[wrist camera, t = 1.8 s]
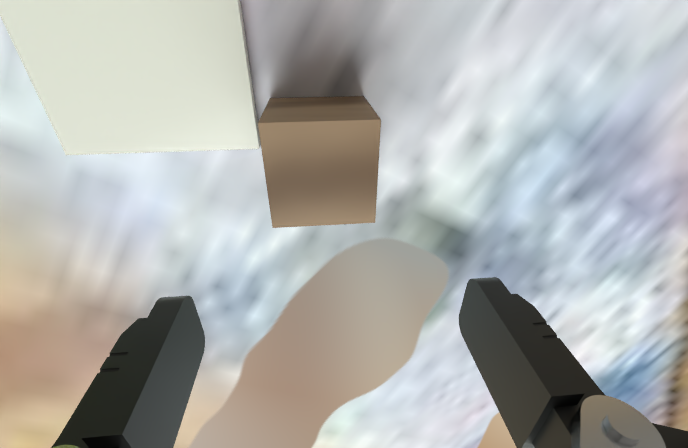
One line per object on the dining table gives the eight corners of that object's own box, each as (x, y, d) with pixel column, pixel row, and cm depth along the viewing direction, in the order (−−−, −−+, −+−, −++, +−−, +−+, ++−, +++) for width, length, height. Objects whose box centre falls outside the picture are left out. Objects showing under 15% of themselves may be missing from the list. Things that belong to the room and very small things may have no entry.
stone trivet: (-42, -103, 15) (-59, -109, 14) (226, -97, 16) (222, -102, 15) (73, 150, 21) (66, 155, 21) (260, 145, 22) (259, 148, 22)
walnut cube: (270, 97, 21) (257, 122, 16) (363, 95, 21) (380, 119, 16) (280, 183, 24) (272, 227, 19) (361, 180, 24) (375, 222, 19)
